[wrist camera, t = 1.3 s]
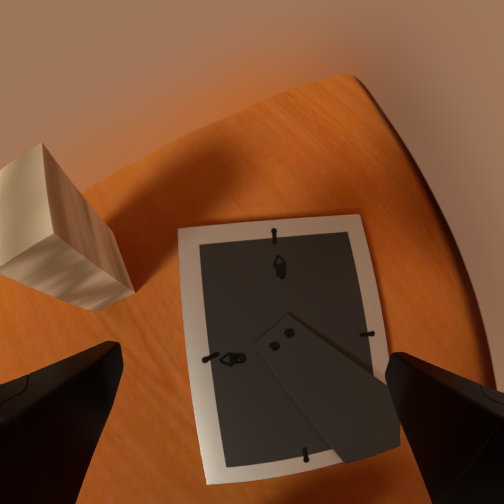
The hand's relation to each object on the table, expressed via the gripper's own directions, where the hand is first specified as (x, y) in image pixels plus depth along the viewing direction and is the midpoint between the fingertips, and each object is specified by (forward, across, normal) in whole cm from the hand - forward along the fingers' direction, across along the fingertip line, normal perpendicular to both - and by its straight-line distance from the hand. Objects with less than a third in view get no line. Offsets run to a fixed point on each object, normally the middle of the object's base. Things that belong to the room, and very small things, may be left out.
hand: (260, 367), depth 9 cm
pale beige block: (+15, +12, +2) cm, 20 cm away
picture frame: (+13, -4, +7) cm, 15 cm away
